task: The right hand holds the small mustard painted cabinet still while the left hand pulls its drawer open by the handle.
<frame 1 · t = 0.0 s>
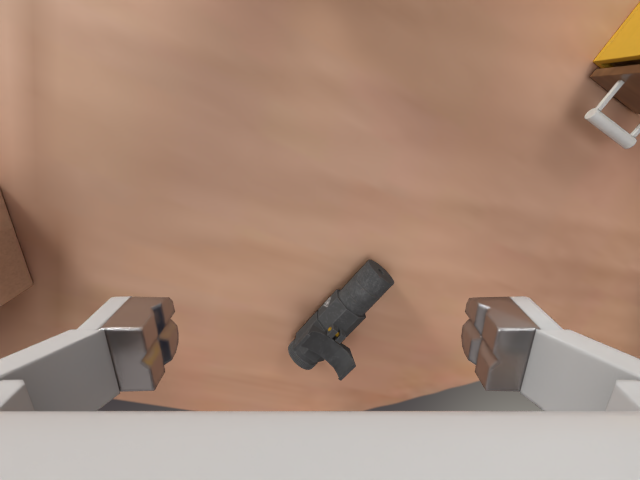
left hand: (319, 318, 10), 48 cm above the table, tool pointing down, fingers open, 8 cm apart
laser sight: (336, 307, 65), on the table
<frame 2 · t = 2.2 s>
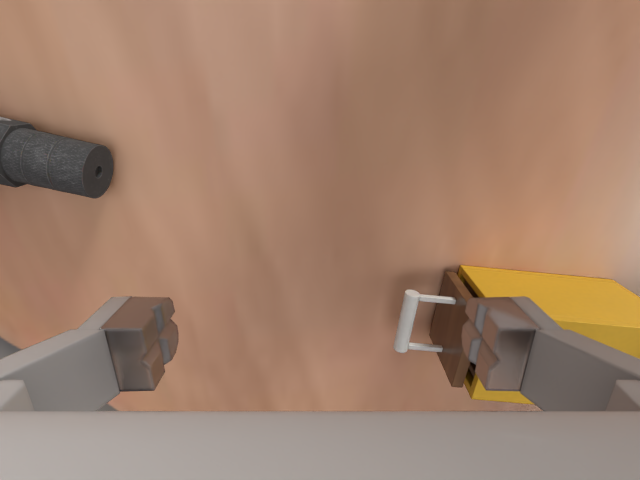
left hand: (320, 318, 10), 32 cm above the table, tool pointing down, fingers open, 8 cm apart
drawer: (501, 330, 42), point 5 cm above the table, slide at 0.8 cm
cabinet: (523, 308, 47), on the table
laser sight: (12, 143, 40), on the table
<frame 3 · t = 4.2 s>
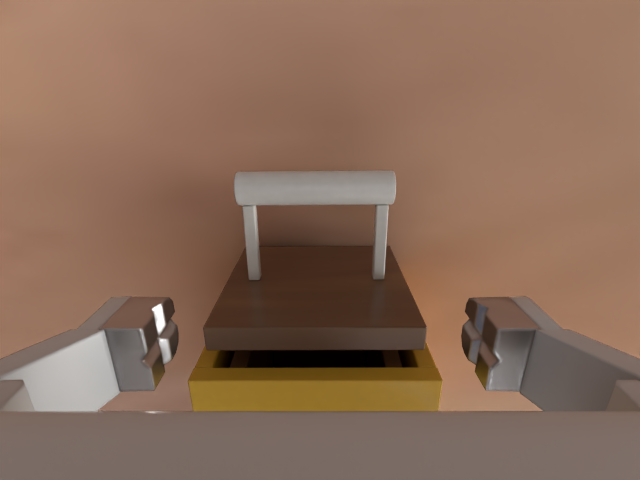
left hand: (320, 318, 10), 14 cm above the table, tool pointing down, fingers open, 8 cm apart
drawer: (317, 371, 22), point 5 cm above the table, slide at 0.8 cm
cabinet: (319, 378, 29), on the table, touching right hand
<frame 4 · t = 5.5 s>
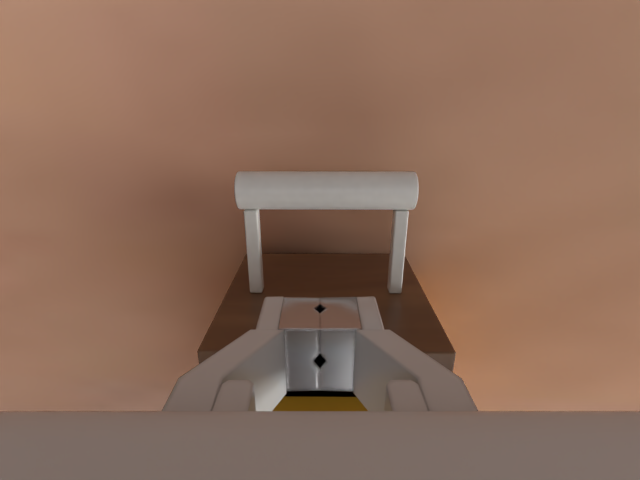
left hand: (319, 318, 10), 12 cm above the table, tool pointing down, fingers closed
drawer: (324, 392, 20), point 5 cm above the table, slide at 0.8 cm
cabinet: (324, 393, 27), on the table, touching right hand
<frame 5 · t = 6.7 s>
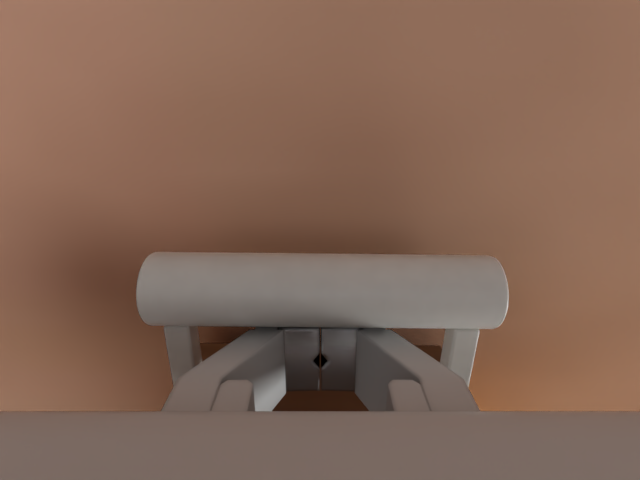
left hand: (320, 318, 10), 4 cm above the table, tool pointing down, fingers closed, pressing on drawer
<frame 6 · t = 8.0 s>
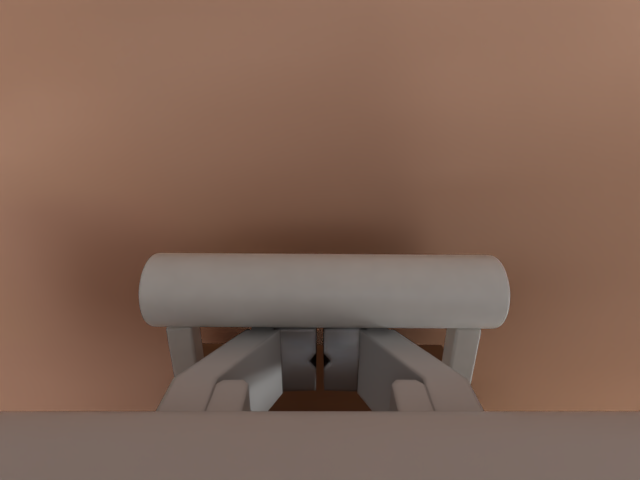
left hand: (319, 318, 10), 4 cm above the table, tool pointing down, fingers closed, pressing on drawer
when the right hand's fingers open (6 cm above the table, at t = 9.5 s): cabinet stays where it is, on the table.
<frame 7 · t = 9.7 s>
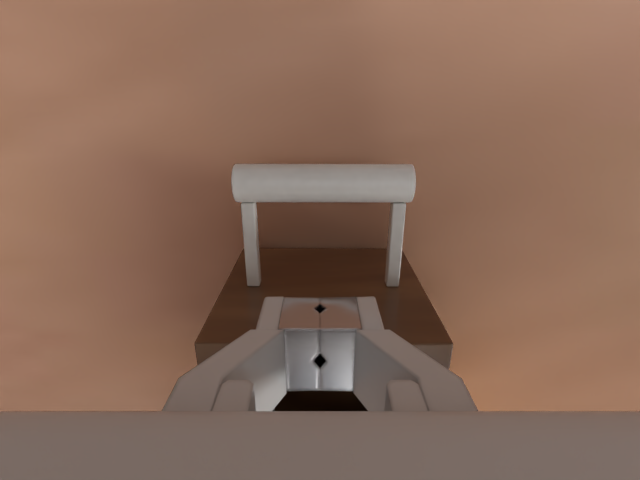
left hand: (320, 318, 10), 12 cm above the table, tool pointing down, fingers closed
drawer: (322, 386, 20), point 5 cm above the table, slide at 8.3 cm
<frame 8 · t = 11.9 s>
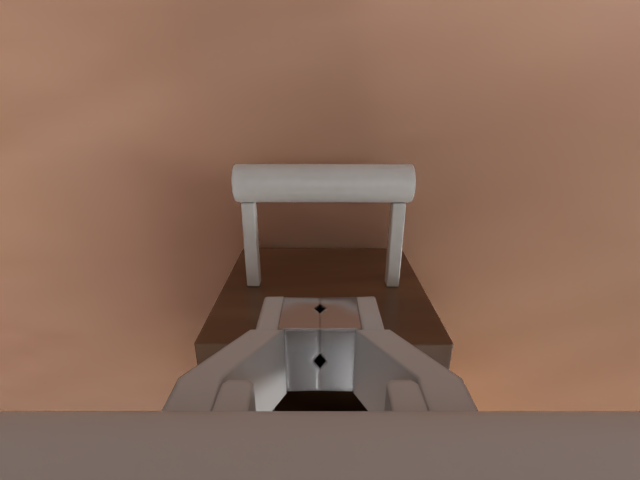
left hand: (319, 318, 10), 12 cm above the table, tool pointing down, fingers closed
drawer: (322, 386, 20), point 5 cm above the table, slide at 8.3 cm
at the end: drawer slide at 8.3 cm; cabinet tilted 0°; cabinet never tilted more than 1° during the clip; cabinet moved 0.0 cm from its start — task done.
